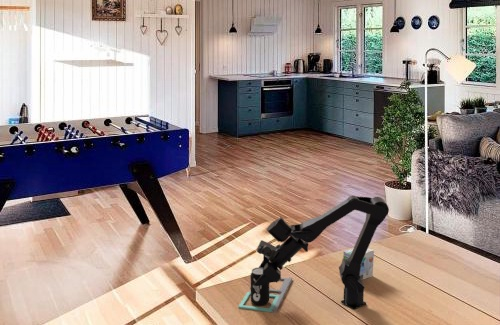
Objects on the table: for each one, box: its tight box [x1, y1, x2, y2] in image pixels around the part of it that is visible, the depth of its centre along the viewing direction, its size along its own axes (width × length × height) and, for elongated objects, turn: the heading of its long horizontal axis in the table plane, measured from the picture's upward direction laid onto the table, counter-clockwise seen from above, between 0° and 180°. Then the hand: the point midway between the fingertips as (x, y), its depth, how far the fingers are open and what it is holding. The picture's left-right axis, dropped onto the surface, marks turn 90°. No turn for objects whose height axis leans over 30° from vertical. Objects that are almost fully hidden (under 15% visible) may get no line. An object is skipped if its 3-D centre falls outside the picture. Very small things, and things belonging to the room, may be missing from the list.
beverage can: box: [250, 266, 270, 307], centre depth 194 cm, size 7×7×12 cm
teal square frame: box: [237, 291, 280, 313], centre depth 195 cm, size 12×12×1 cm
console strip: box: [269, 277, 293, 313], centre depth 202 cm, size 27×9×1 cm, turn 164°
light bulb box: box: [342, 247, 375, 281], centre depth 215 cm, size 11×7×11 cm, turn 126°
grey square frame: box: [249, 276, 289, 294], centre depth 209 cm, size 12×12×1 cm
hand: (255, 279), depth 194 cm, fingers open, 9 cm apart
